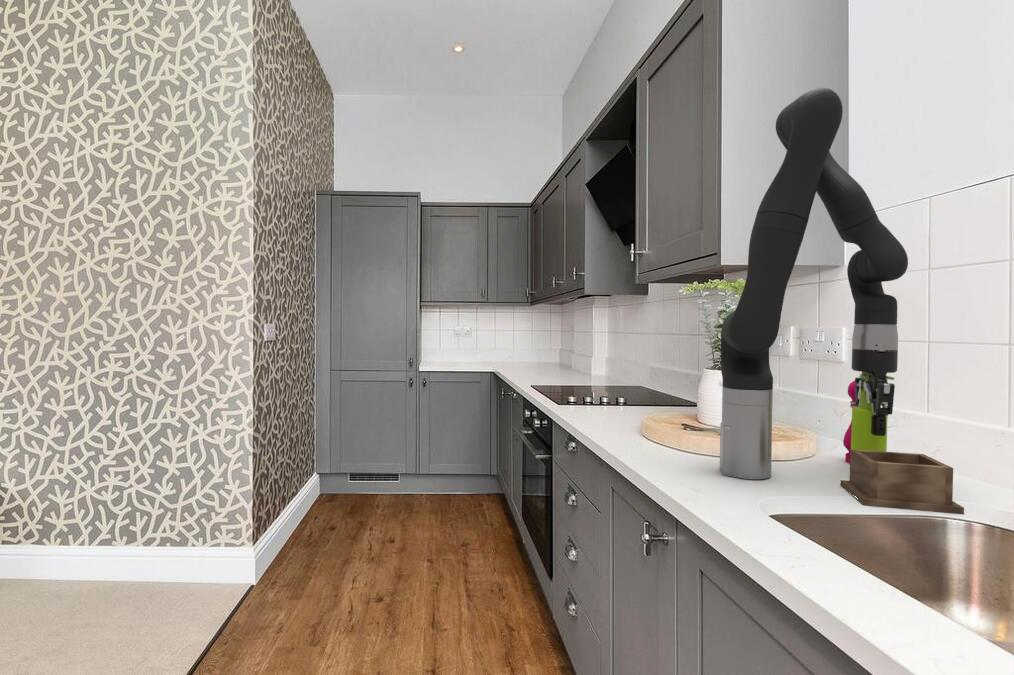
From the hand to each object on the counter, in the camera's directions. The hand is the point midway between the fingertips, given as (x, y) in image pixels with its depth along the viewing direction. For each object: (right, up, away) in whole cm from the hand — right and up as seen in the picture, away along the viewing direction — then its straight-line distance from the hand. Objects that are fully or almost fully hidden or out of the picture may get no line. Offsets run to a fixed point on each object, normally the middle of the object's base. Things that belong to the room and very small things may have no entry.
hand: (872, 432), depth 108 cm
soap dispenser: (0, -9, 0) cm, 9 cm away
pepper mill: (+5, -9, +11) cm, 15 cm away
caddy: (-5, -9, -14) cm, 17 cm away
